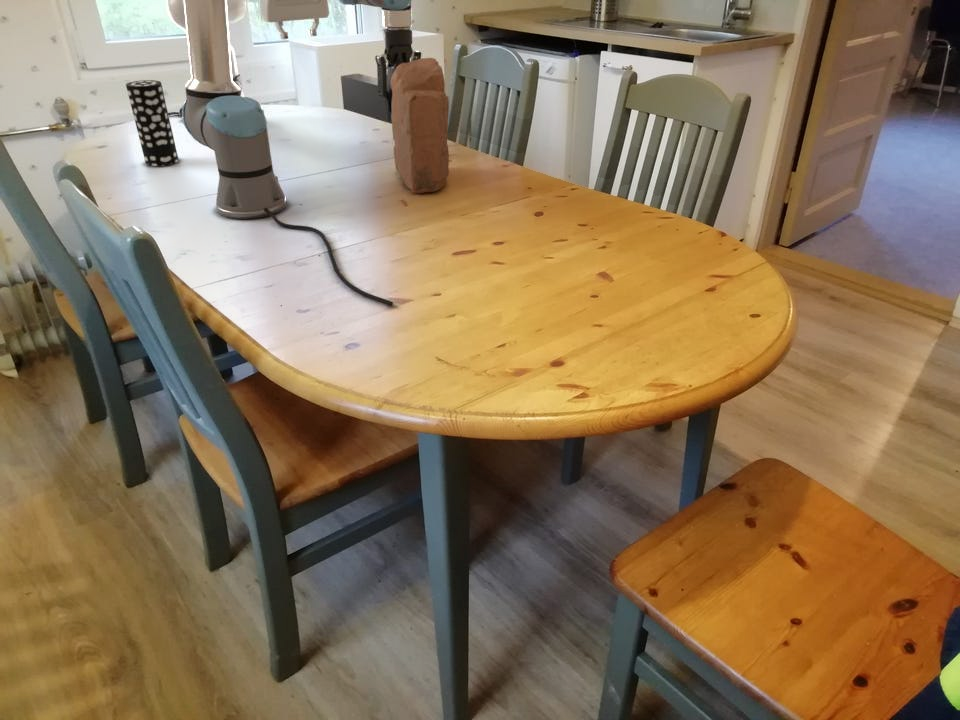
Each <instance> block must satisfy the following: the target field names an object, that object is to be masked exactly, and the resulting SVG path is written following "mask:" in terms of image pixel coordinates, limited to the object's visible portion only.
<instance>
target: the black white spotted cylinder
mask: <svg viewBox="0 0 960 720" xmlns="http://www.w3.org/2000/svg"><path fill="white" fill-rule="evenodd" d="M125 87H126V91H127V95H128V99H129V103H130V107H131V110H132V115H133V118H134V122H135V123H134V124H135V127H136V130H137V134H138V139H139V143H140V146H141V150H142V155H143V158H144V163H145V164H146V165H147V166H151V167H164V166H170V165H174V164H176V163H178V162H179V155H178V150H177V146H176V142H175V137H174V133H173V128H172V125H171V121H170V115H168V113H169V111H168V107H167V103H166V98H165V93H164V89H163V84H162V81H161V80H155V79H154V80H153V79H151V80H150V79H145V80H144V79H141V80H134V81H130V82H129V81H128V82H127V83H126V84H125Z"/></svg>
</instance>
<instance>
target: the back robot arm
mask: <svg viewBox="0 0 960 720" xmlns="http://www.w3.org/2000/svg"><path fill="white" fill-rule="evenodd" d="M259 9H260V17H261V20H263V21H264V22H265V23H269V24H271V23H274V26H275V28H276V30H277V31H278V32H279V37H280V40H289V36H288V35H289V32H288V31H285V29H284V28H283V27H284V22H294V21H304V20H310V23H312V25H311V28H309V29H308V35H309V36H310V37H317V36H318V31H317V30H318V27H319V24H320V19H328V18H329V15H330V6H329V1H328V0H259ZM166 11H167V14H168V16H169V18H170V20H171V21H172V22H173V23H174V24H175V25H176V26H177V27H179V28H180V29H181V30H183V32H184V33H185V34H186V35H187V26H186V16H185V6H184V0H166ZM227 12H228V26H230V25H232V24H235V23H237V22H239V21H241V20H242V19H244V18H245V16H246V13H247V2H246V0H227ZM230 53H231V67H232V80H233V81H234V83H235V84H236V85H237V86H238V87H239V88H240V93H241V96H242V97H245V96H244V92H243V84H242V77H241V74H240V72H239V68H238V63H237V56H236V50H235V48H234V46H233V45H232V44H230ZM182 108H183V105H181V108H179V111H170V112H168V115H169V116H172V115H178V116H179V118H181V122H183V119H182Z"/></svg>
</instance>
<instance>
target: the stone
mask: <svg viewBox="0 0 960 720" xmlns="http://www.w3.org/2000/svg"><path fill="white" fill-rule="evenodd" d="M390 85H391V89H392V113H391V120H392V124H391V131H392V139H393V142H394V145H393V148H392V149H393V157H394V166H395V170H396V172H397V173H398V175H399V177H400V178H401V180H402V181H403V183H404V184H405V186H406V187H407V188H408V189H410V191H411V192H412V193H413V194H423V193H431V192H434V193H435V192H437V191H439V190H440V189H441V188H443V187H446V185H447V182H448V181H447V179H448V177H449V175H450V173H449V172H450V169H449V166H450V162H449V161H450V154H449V146H448V127H449V110H450V102H449V101H450V99H449V96H448V95H447V94H446V91H445V90H446V83H445V75H444V72H443V68H442V66H441V65H440V64H439V61H437V59H436V58H434V57H421V59H418V60H413V61H411V60H410V62H408V63H402V64H400V65H398V66H397V68H396V69H395V71H394V73H393V75H392V77H391V81H390Z"/></svg>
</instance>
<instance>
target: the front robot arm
mask: <svg viewBox="0 0 960 720" xmlns="http://www.w3.org/2000/svg"><path fill="white" fill-rule="evenodd" d="M338 1H339V3H341V4H342V5H345V6H346V5H348V6H349V5H351V6H355V5H363V6H369V7H375V8H380V9H381V20H382V21H381V23H382V27H383V29H382V40H383V45H384V51H383V53H382V54H380V55H375V56H374V59H375V63H376V73H377V74H376V75H377V76H376V78H377V83H378V95H379V96H382V97H384V99H385V109H386V111H387V113H388V122H389V123H388V124H391V123H392V120H391V113H392V89H391V85H390V81H391V77H392V75H393V73H394V71H395V69H396V68H397V66H398V65H400V64H402V63H408V62H411V61H413V60H418V59H421V58H422V52H421V51H419V50H414V48H413V47H412V44H413V43H414V42H413V40H414V39H413V30H412V28H411V27H412V26H413V15H412V14H413V13H412V12H413V11H412V0H338ZM184 6H185V16H186V26H187V34H186V36H187V46H188V54H189V55H188V57H189V64H190V75H191V78H190V80H188V81H187V83H186V84H185V86H184V87H185V88H184V89H185V97H186V99H185V101H184V102H183V104H182V106H183V108H182V107H181V108H182V117H181V120H182V119H183V121H182V122H183V125H184V127H185V129H186V131H187V132H188V134H189V135H190V136H191V138H193V139H194V140H195V141H196V142H198V143H199V144H201V145H202V146H204V147H207V148H208V149H211V150H212V151H214V156H215V160H216V167H217V169H218V170H217V172H218V185H217V193H216V201H215V206H216V210H217V213H218V214H219V215H221V216H223V217H225V218H229V219H236V220H253V219H260V218H261V219H262V218H265V217H266V218H267V217H271V219H272V220H273V221H274V222H275V223H276V224H277V225H279V226H281V227H283V228H287V229H294V230H295V229H296V230H306V231H311V232H313V233H315V234H317V235H318V236H320V238H321V239H322V242H323V243H324V245H325V247H326V249H327V253H328V256H329V258H330V262H331V265H332V268H333V271H334V273H335V274H336V276H337V277H338V278H339V279H340V281H341V282H342V283H343V284H344V285H345V286H346V287H348V288H349V289H351V291H353V292H355V293H356V294H359V295H361V296H362V297H365V298H366V299H367V298H368V299H370V300H372V301H374V302H375V301H376V302H378V303H382V304H385V305H387V306H389V307H392V306H393V305H394V303H393V301H391V300H388V299H386V298H383V297H380V296H377V295H373V294H371V293H368V292H367V291H363V290H362V289H360V288H358V287H356V286H355V285H354V284H352V283H351V282H349V280H347V279H346V278H345V276H344V275H343V274H342V273H341V271H340V269H339V268H338V264H337V262H336V259H335V256H334V253H333V249H332V246H331V245H330V243H329V241H328V239H327V237H326V236H325V234H324V233H323V232H322V231H321V230H319V229H317V228H315V227H312V226H309V225H301V224H299V225H298V224H289V223H285V222H283V221H280V220H279V219H278V217H277V216H276V214H278V213H280V212H282V211H283V210H285V209H286V207H287V199H286V194H285V193H284V191H283V189H282V187H281V184H280V182H279V178H278V176H277V175H275V172H274V167H273V160H272V154H271V153H272V152H271V147H270V140H269V133H268V125H267V124H268V123H267V122H268V121H267V117H266V115H265V110H264V107H263V106H262V104H261V103H260V102H259V101H258V100H257V99H254V98H252V97H249V96H244V97H242V96H241V93H240V88H239V87H238V86H237V85H236V84H235V83H234V81H233V80H232V67H231V53H230V45H231V41H230V29H229V26H230V25H228V12H227V0H184Z"/></svg>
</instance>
